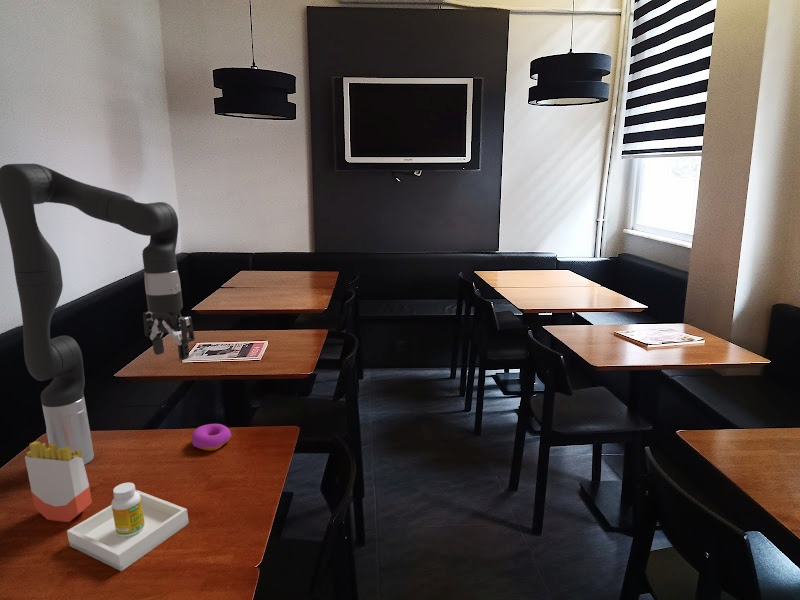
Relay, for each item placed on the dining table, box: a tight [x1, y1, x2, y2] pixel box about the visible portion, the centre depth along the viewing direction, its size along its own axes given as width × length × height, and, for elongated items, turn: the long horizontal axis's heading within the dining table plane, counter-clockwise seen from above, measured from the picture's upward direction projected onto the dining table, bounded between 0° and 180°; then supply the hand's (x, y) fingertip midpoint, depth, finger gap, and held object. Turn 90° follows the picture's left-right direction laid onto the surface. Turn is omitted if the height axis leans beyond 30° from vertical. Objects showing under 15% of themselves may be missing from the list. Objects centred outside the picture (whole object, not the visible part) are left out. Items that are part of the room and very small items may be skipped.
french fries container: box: [24, 440, 93, 523], centre depth 120 cm, size 5×11×18 cm, turn 78°
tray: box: [66, 489, 189, 572], centre depth 115 cm, size 16×16×4 cm
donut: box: [191, 423, 232, 452], centre depth 152 cm, size 10×10×5 cm
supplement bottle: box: [111, 482, 145, 537], centre depth 114 cm, size 5×5×10 cm
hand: (171, 356), depth 132 cm, fingers open, 8 cm apart
